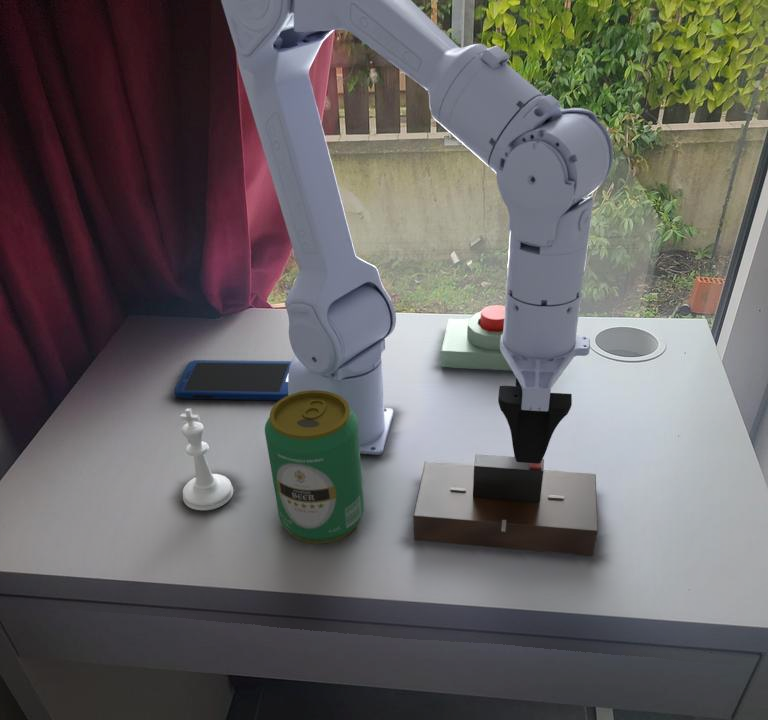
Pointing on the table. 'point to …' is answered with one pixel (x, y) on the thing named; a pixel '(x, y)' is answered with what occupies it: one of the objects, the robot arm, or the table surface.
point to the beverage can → (315, 465)
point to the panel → (507, 512)
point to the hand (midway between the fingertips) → (529, 433)
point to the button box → (472, 346)
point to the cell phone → (234, 380)
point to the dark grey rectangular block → (507, 478)
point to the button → (493, 318)
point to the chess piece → (202, 471)
